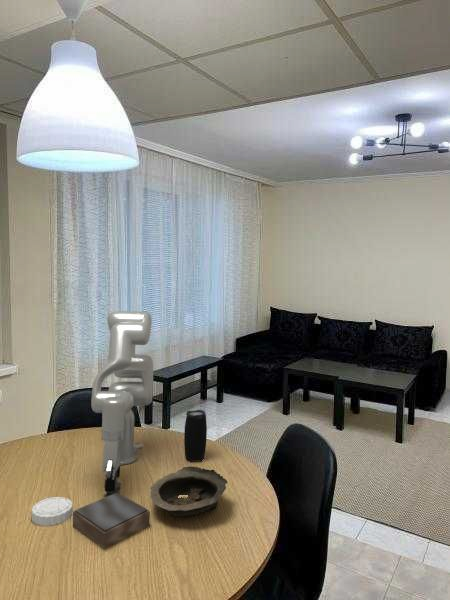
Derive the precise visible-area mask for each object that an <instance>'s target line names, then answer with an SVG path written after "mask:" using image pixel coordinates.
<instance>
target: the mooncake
mask: <svg viewBox="0 0 450 600" xmlns="http://www.w3.org/2000/svg"><path fill="white" fill-rule="evenodd" d="M73 508H74V503H73V501H72V500H71V499H69V498H68V497H66V498H65V497H63V496H56V497H54V496H51V497H48V498H46V497H45V498H44V499H42V500H39V501H38V502H35V504H34V505H33V506H32V507H31V517H30V518H31V520H32V521H31V522H32V523H34V524H35V525H38V526H41V527H42V526H44V527H49V526H51V527H52V526H55V525H60V524H62V523H65V522H67V520H69V519H71V517H73V511H74V509H73Z"/></svg>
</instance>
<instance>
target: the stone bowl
mask: <svg viewBox="0 0 450 600" xmlns="http://www.w3.org/2000/svg"><path fill="white" fill-rule="evenodd" d="M227 484H228V480H227V479H226V478H224V477H223V475H221V473H218V472H217V471H216V470H215V469H206V468H202V467H198V466H192V465H190V466H183V467H182V468H181V469H178V470H177V471H176V472H170V473H168V474H167V475H165V476H163V477H161V478H159V479H158V480H157V481H155V482H154V483H153V484H152V485H151V486H150V488H149V489H150V494H149V495H150V499H151V501H152V503H153V504H154V505H156V506H157V507H159V508H161V509H164V511H165V512H166V513H167V514H168V515H169V516H175V517H186V516H187V517H188V516H192V515H197V514H201V513H203V512H206V511H208V510H210V509H211V510H216V509H217V507H218V504H219V499H220V498H221V496H222V495H223V493H224V492H225V491H226V489H227V486H226V485H227ZM179 495H188V497H187V498H186V497H183V498H182V497H181V498H178V496H179Z"/></svg>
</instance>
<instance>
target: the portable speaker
mask: <svg viewBox="0 0 450 600" xmlns="http://www.w3.org/2000/svg"><path fill="white" fill-rule="evenodd" d="M185 415H186V416H185V423H184V432H183V433H184V438H183V439H184V440H183V444H184V457H185V460H186V462H188V461H190V462H189V463H193V462H195V461H199V462H203V461H204V460H205V456H206V450H207V449H206V447H207V437H208V436H207V431H208V426H207V415H206V412H205V410H202V409H196V410H187V411H186V414H185ZM203 459H204V460H203ZM202 460H203V461H202Z"/></svg>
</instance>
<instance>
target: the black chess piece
mask: <svg viewBox="0 0 450 600" xmlns="http://www.w3.org/2000/svg"><path fill="white" fill-rule="evenodd" d="M112 464H113V463H112ZM111 469H114V468H111ZM111 473H112V476H113V472H111ZM117 475H118V473H117V471H115V477H114V478H115V491H105V493H104V495H103V496H104V497H103V498H105V497H107V496H110V495H112V494H115V493H117V492H118V493H120V490H121V487H122V483H121V482H120V481H118V478H117ZM103 488H104V489H105V483H104V485H103Z"/></svg>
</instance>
